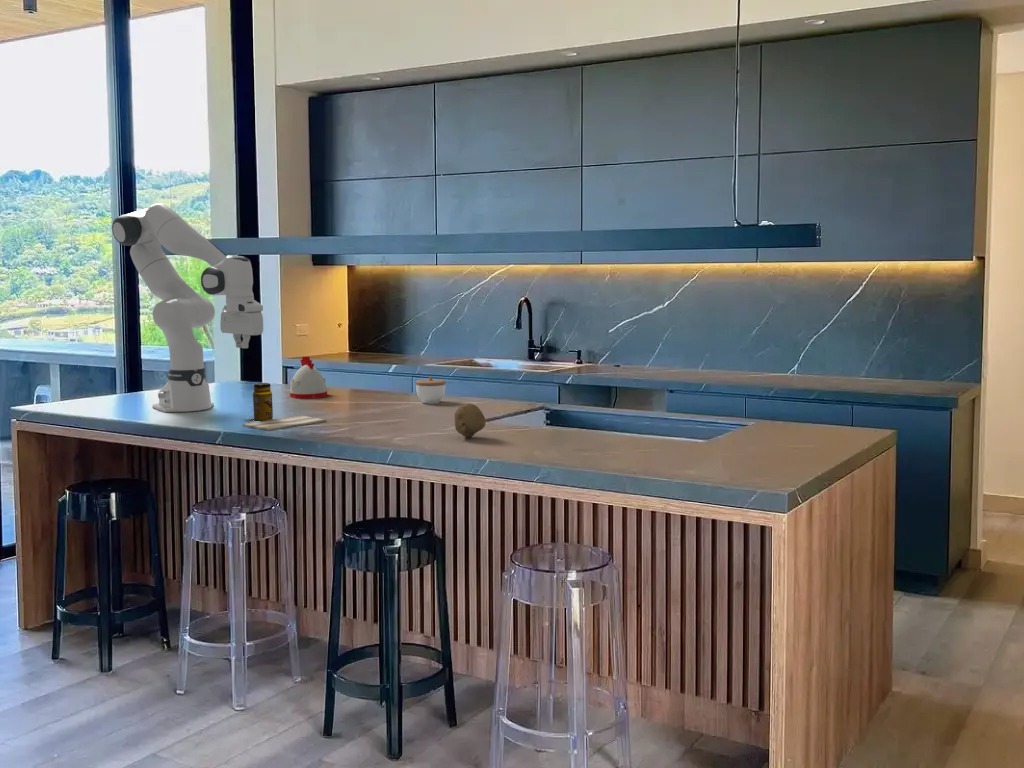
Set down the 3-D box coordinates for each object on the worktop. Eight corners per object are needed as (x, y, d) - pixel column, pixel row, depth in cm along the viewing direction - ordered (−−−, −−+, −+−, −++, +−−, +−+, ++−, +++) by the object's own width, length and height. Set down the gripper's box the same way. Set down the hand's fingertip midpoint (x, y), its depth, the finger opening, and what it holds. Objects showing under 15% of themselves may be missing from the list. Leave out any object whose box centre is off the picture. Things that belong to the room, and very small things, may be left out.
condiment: (277, 420, 338) (275, 384, 336) (252, 423, 333) (250, 386, 332) (269, 417, 344) (267, 381, 343) (244, 420, 339) (242, 383, 338)
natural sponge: (489, 435, 306) (488, 401, 304) (481, 440, 297) (480, 406, 296) (459, 434, 308) (458, 401, 306) (450, 439, 299) (449, 405, 298)
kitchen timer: (314, 392, 405) (313, 354, 404) (334, 395, 395) (332, 356, 393) (283, 396, 396) (281, 356, 394) (302, 399, 386) (300, 359, 384)
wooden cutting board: (242, 425, 328) (242, 424, 328) (300, 417, 344) (300, 415, 344) (268, 430, 319) (267, 428, 318) (326, 421, 334) (326, 419, 334)
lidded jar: (449, 400, 378) (448, 374, 377) (442, 404, 368) (441, 378, 367) (420, 400, 380) (420, 374, 379) (412, 404, 370) (412, 378, 369)
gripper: (214, 305, 345) (216, 346, 347) (249, 306, 331) (250, 350, 333) (231, 304, 349) (233, 345, 351) (266, 306, 336) (267, 348, 337)
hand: (242, 347), depth 342 cm, fingers closed
